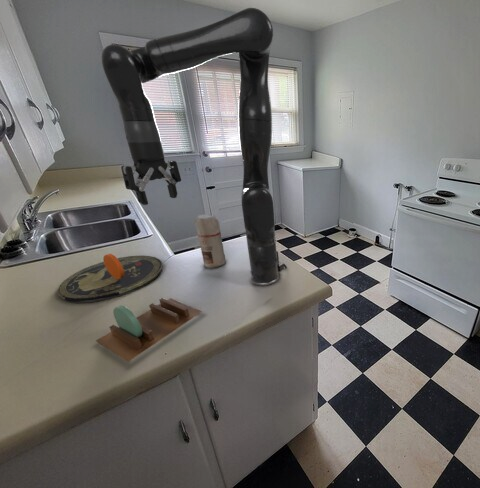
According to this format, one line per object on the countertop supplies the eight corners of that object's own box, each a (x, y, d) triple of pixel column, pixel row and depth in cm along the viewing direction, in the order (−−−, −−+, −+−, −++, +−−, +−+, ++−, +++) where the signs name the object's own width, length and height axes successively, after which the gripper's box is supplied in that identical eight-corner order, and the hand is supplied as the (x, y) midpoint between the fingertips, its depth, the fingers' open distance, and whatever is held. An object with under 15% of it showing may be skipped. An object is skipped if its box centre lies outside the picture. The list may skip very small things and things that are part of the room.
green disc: (125, 329, 70) (114, 300, 66) (146, 341, 66) (135, 311, 62) (120, 332, 69) (108, 303, 65) (141, 344, 65) (130, 314, 61)
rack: (171, 302, 83) (168, 291, 81) (203, 315, 77) (200, 304, 75) (97, 345, 67) (91, 332, 65) (130, 366, 61) (124, 353, 59)
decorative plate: (153, 248, 115) (170, 275, 94) (154, 252, 115) (172, 280, 94) (59, 271, 97) (54, 311, 76) (61, 276, 98) (57, 317, 77)
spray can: (199, 264, 105) (189, 215, 97) (219, 257, 111) (210, 210, 103) (210, 271, 100) (200, 220, 92) (230, 263, 106) (222, 214, 98)
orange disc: (116, 278, 95) (103, 255, 93) (127, 276, 90) (114, 252, 88) (112, 280, 94) (99, 256, 92) (124, 278, 89) (110, 253, 87)
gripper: (123, 142, 63) (142, 208, 70) (178, 139, 75) (190, 197, 81) (106, 141, 66) (125, 205, 73) (161, 138, 78) (174, 194, 84)
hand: (159, 200), depth 77 cm, fingers open, 8 cm apart
